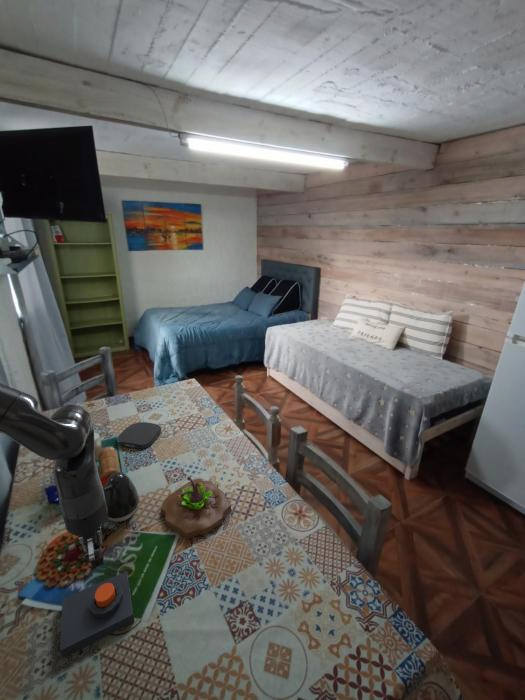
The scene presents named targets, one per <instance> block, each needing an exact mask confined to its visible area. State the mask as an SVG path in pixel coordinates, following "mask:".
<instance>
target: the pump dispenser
mask: <svg viewBox="0 0 525 700" xmlns="http://www.w3.org/2000/svg"><path fill="white" fill-rule="evenodd" d="M103 490H104V495H105V500H106V504H107V509H108V514H107V517H106V518H108V519H109V520H110V521H112V522H118V523H119V522H123V521H127V520H128V519H130V518H131V517H132V516H134V514H135V513H136V512H137V509H138V506H139V504H140V497H139V496H140V495H139V492H138V490H137V487H136V485H135V483H134V482H133V480H132V479H131V478H130V477H129V476H128V475H127V474H126V473H125V472H121V471H116V472H115V473H112V474H111V475H110V476H109V477H108V478H107V480H106V483H105V486H104V487H103Z"/></svg>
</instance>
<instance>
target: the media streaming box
mask: <svg viewBox="0 0 525 700" xmlns="http://www.w3.org/2000/svg"><path fill="white" fill-rule="evenodd" d="M161 434H162V427H161V426H160V425H159V424H157V423H152V422H145V421H142V422H141V421H140V422H134V423H131V424H130V425H128V426H126V428H124V429H123V431H121V433H120V434H119V435H118V437H117V442H118V441H119V443H118V445H119V444H120V445H119V446H120V447H126V448H130V449H140V450H142V449H147V448H149V447H150V446H152V445H153V444H154V442H155V441H156V440H157V439H158V437H160V435H161Z"/></svg>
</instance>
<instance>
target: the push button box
mask: <svg viewBox="0 0 525 700" xmlns="http://www.w3.org/2000/svg"><path fill="white" fill-rule="evenodd" d="M105 583H111V584H113V586H114V589H115V598H114V600H113V601H112V603H111V604H109V605H108V606H106V607H98V606H97V604H96V600H95V593H96V591H97V589H98V588H99V587H100V586H101V585H103V584H105ZM61 602H62V603H61V618H60V619H61V622H60V643H59V644H60V645H59V652H60V655H61V658H62V659H64V658H67V657H68V656H70V655H73V654H75V653H76V652H78V651H80V650H83V649H84V648H87V647H88V646H90V645H92V644H95V643H96V642H98V641H100V640H102V639H104V638H106V637H108V636H110V635H112V634H114V633H116V632H117V631H120V630H123V628H126V627H128V626H129V625H131V624H133V623H135V621H136V620H135V615H134V607H133V601H132V593H131V585H130V579H129V574H128V571H127V570H125V571H123V572H121V573H119V574H116V575H114V576H112V577H109V578H107V579H105V580H103V581H100V582H98V583H95V584H92V585H90V586H89V587H87V588H84V589H82V590H79V591H77V592H75V593H73V594H70V595H68V596H66V597H63V598H62V599H61Z"/></svg>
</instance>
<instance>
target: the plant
mask: <svg viewBox="0 0 525 700" xmlns="http://www.w3.org/2000/svg"><path fill="white" fill-rule="evenodd" d="M186 480H187V481H188V482H187V483H185V484H183V485H181V486H180V487H179V488H177V489H175V490H174V491H173V492H172V493H170V494H168V495H167V497H166V498H165V499H164V501H163V502H162V506H161V507H160V514H161V515H162V516H164V523H165V525H166V527H168V528H170V529H171V530H173V531H174V532H176V533H177V534H179V535H180V536H182V537H183V538H185V539H187V540H190V539H192V538H194V537H198V536H204V535H206V534H208V533H211V532H212V531H213V530H214V529H216V528H217V527H219V526H220V525H221V524H222V523H223V520H224V518H225V517H226V516H227V515H228V514H229V513H230V512H231V511H232V505H231V502H230V500H229V499H228V497H227V496H226V494H225V492H224V491H223V490H222V489H220V488H219V484H216V483H214V482H213V481H212V480H211V479H210V480H203V478H194V479H192V477H191V476H189V475H188V476H187V477H186Z"/></svg>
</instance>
